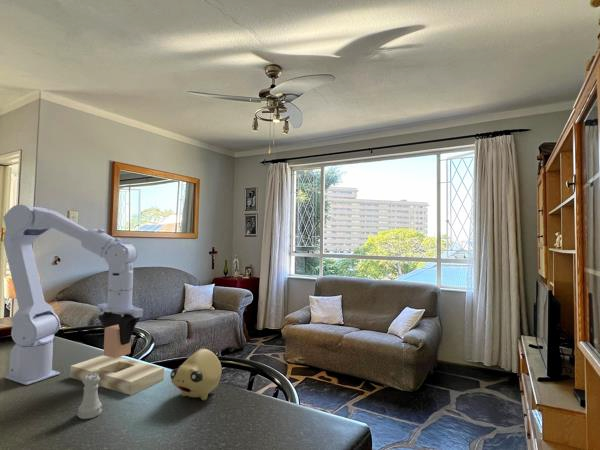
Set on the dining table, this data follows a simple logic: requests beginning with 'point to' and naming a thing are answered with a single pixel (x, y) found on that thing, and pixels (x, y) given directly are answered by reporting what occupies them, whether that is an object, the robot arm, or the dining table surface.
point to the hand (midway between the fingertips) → (118, 342)
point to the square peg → (114, 343)
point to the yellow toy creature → (198, 374)
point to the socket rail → (119, 373)
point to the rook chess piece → (90, 398)
